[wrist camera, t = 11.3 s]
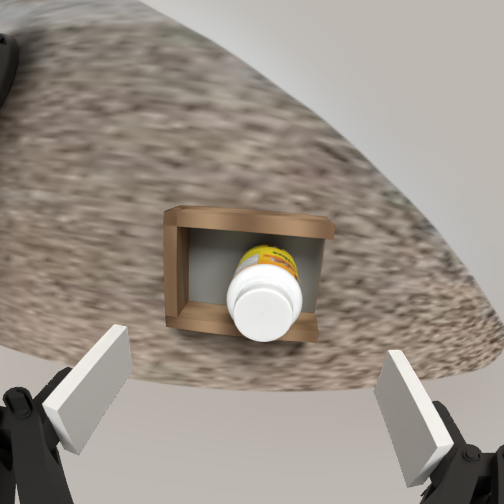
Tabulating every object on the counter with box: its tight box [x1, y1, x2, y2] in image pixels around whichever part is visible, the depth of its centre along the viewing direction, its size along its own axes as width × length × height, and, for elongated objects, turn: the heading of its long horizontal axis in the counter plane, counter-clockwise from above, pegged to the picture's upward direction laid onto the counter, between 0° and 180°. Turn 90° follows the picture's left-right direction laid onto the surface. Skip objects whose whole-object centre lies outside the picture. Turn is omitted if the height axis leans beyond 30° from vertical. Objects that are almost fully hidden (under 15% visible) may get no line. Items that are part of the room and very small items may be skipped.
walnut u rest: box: [164, 205, 335, 343], centre depth 28 cm, size 14×11×5 cm
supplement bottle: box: [227, 243, 302, 342], centre depth 24 cm, size 6×6×10 cm
